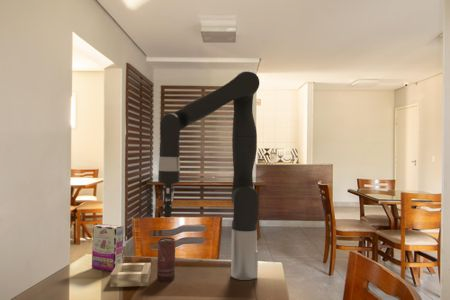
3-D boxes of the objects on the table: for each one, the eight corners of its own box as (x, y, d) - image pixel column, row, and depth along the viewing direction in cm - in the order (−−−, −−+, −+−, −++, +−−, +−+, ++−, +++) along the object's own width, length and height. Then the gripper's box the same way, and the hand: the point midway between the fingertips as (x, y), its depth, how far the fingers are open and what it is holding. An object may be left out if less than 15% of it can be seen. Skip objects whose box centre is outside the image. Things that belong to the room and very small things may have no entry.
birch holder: (150, 273, 125) (150, 262, 125) (147, 285, 113) (147, 273, 113) (117, 274, 123) (117, 263, 123) (110, 286, 111) (110, 274, 111)
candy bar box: (123, 268, 130) (124, 225, 130) (114, 272, 125) (115, 228, 125) (100, 264, 134) (101, 223, 134) (91, 268, 129) (92, 225, 130)
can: (171, 282, 116) (172, 241, 116) (154, 281, 117) (155, 240, 117) (177, 276, 122) (178, 237, 122) (161, 275, 123) (162, 236, 123)
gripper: (179, 170, 114) (178, 218, 113) (179, 169, 128) (178, 212, 128) (157, 170, 113) (155, 218, 113) (159, 168, 127) (158, 212, 127)
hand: (167, 215), depth 120 cm, fingers open, 8 cm apart
